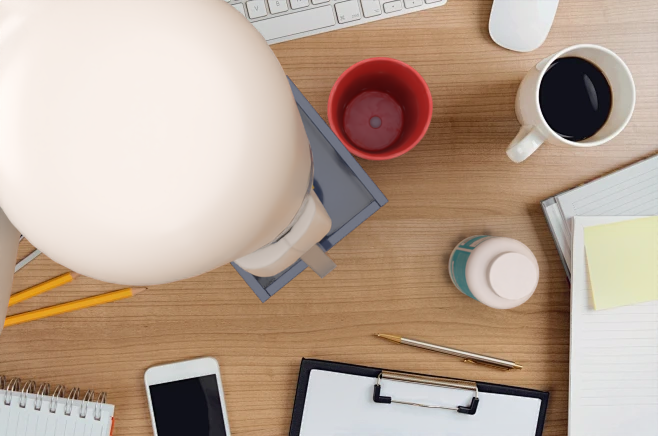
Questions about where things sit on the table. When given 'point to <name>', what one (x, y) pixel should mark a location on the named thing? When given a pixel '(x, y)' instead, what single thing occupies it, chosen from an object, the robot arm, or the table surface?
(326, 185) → the open box
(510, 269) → the pill bottle
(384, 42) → the table surface
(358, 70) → the flower pot
